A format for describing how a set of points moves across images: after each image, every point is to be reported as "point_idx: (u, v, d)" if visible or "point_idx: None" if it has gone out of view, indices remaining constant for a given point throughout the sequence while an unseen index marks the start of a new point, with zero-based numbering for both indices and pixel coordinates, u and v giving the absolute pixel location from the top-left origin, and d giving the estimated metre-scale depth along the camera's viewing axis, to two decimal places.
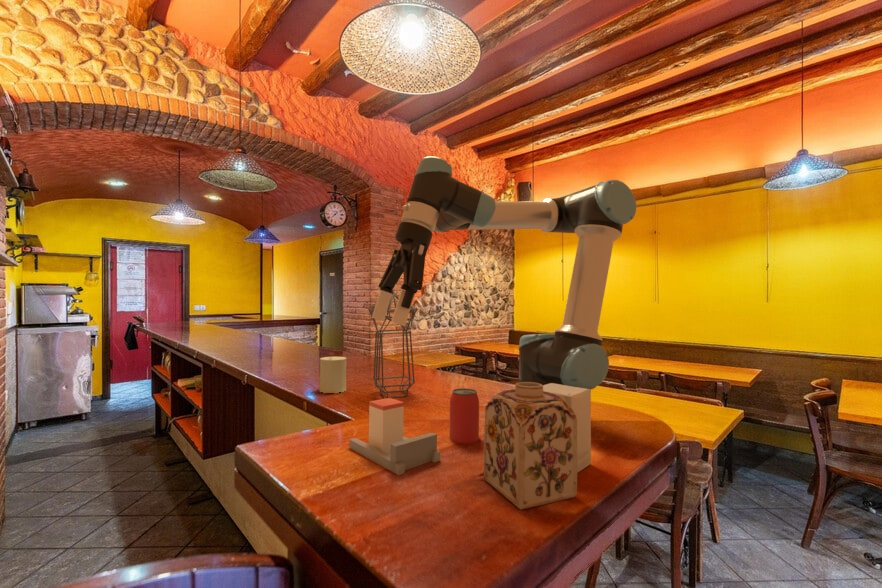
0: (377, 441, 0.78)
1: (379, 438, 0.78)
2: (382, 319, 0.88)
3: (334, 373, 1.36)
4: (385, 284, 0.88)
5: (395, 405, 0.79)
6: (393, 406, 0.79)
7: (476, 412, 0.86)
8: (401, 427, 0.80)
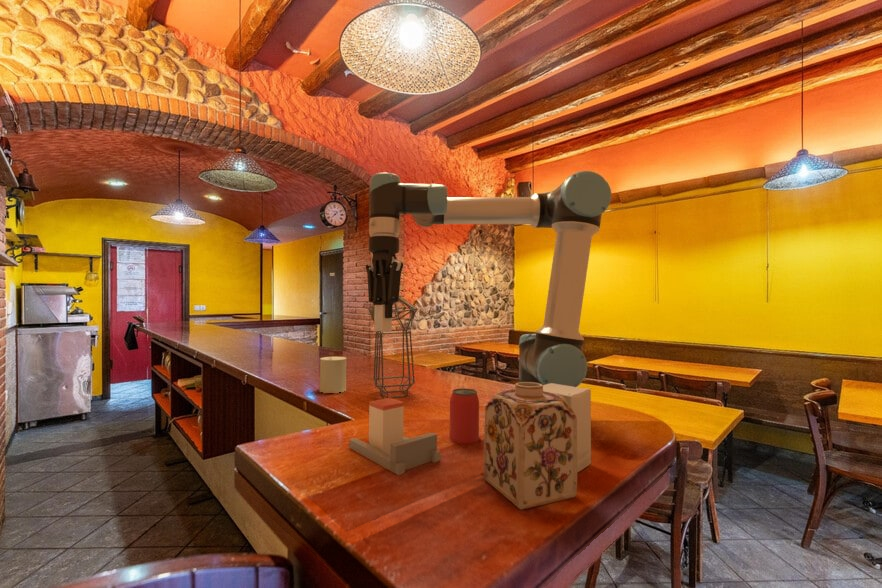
0: (377, 441, 0.78)
1: (379, 438, 0.78)
2: None
3: (334, 373, 1.36)
4: (376, 296, 0.99)
5: (395, 405, 0.79)
6: (393, 406, 0.79)
7: (476, 412, 0.86)
8: (401, 427, 0.80)
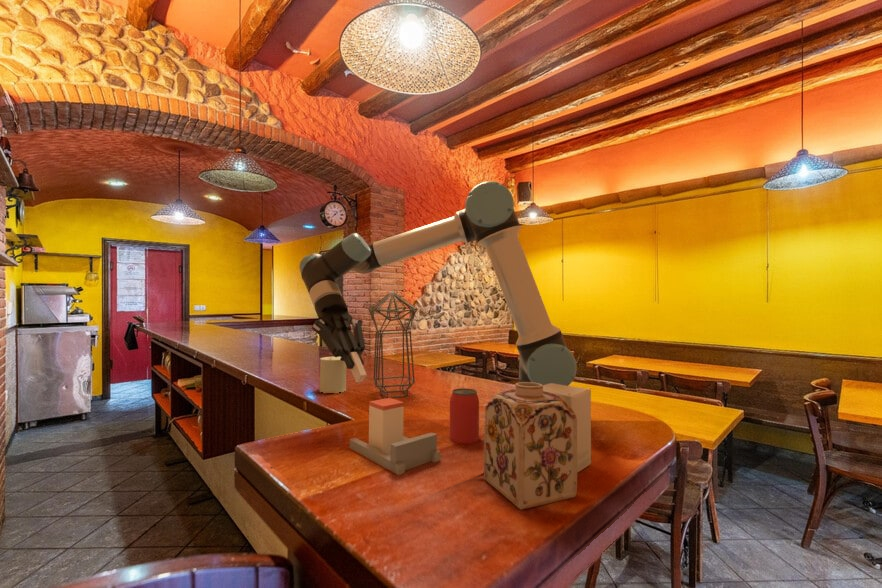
0: (377, 441, 0.78)
1: (379, 438, 0.78)
2: None
3: (334, 373, 1.36)
4: (349, 350, 0.93)
5: (395, 405, 0.79)
6: (393, 406, 0.79)
7: (476, 412, 0.86)
8: (401, 427, 0.80)
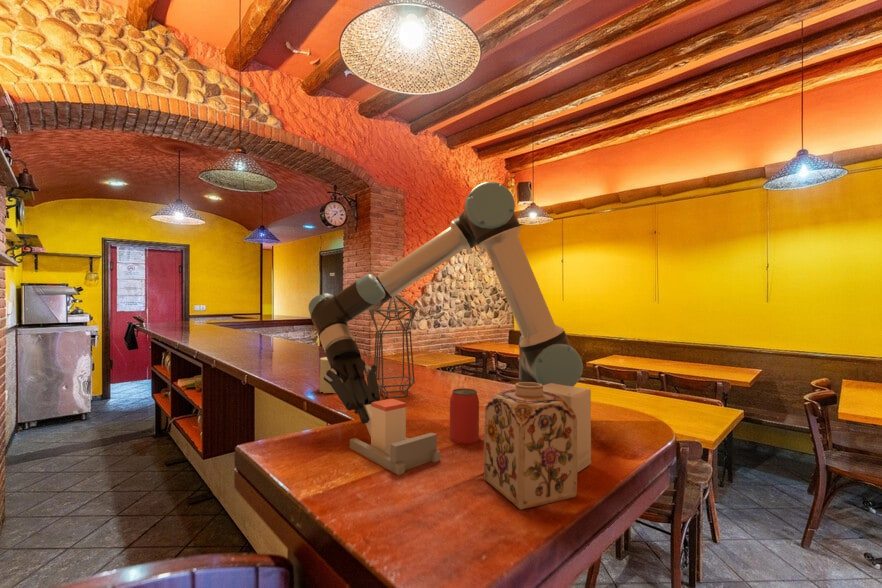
0: (380, 442, 0.77)
1: (381, 439, 0.77)
2: None
3: None
4: (363, 401, 0.88)
5: (398, 406, 0.78)
6: (396, 407, 0.78)
7: (476, 412, 0.86)
8: (404, 428, 0.79)
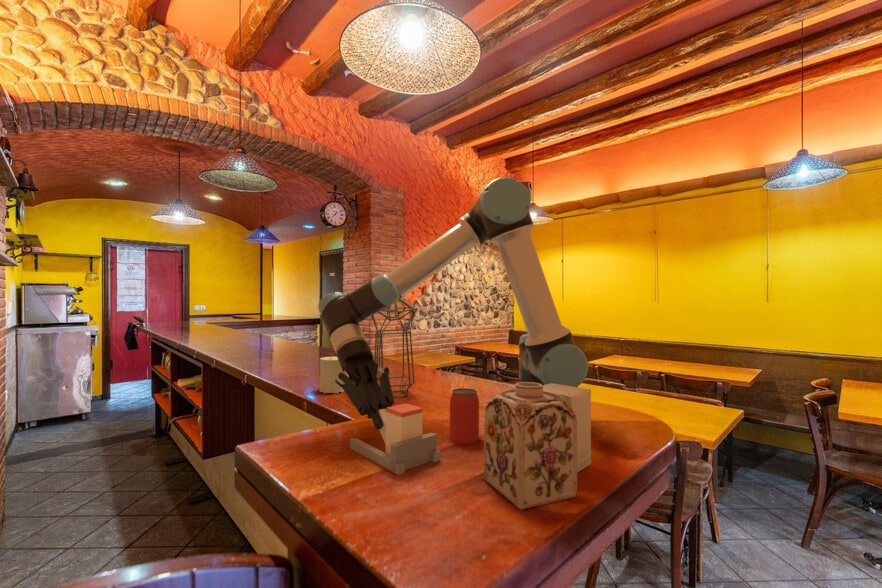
0: None
1: None
2: None
3: (334, 373, 1.36)
4: (376, 405, 0.84)
5: (414, 411, 0.74)
6: (412, 413, 0.74)
7: (476, 412, 0.86)
8: (420, 435, 0.75)
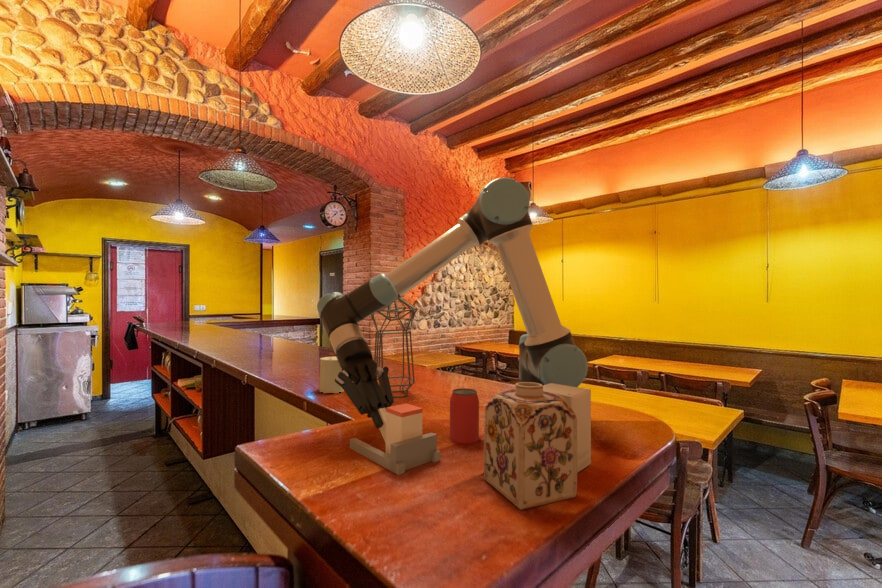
0: None
1: None
2: None
3: (334, 373, 1.36)
4: None
5: (414, 411, 0.74)
6: (412, 413, 0.74)
7: (476, 412, 0.86)
8: (420, 435, 0.75)
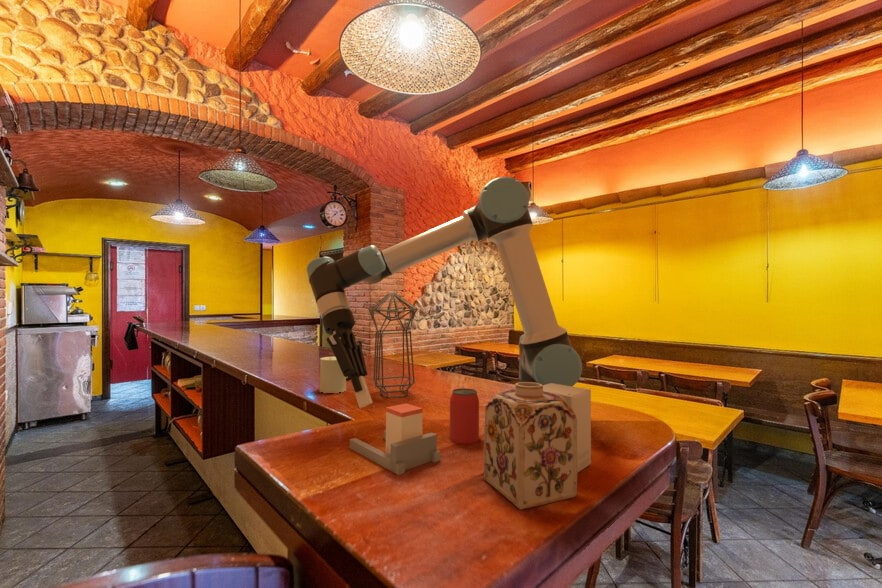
0: None
1: None
2: None
3: (334, 373, 1.36)
4: None
5: (414, 411, 0.74)
6: (412, 413, 0.74)
7: (476, 412, 0.86)
8: (420, 435, 0.75)
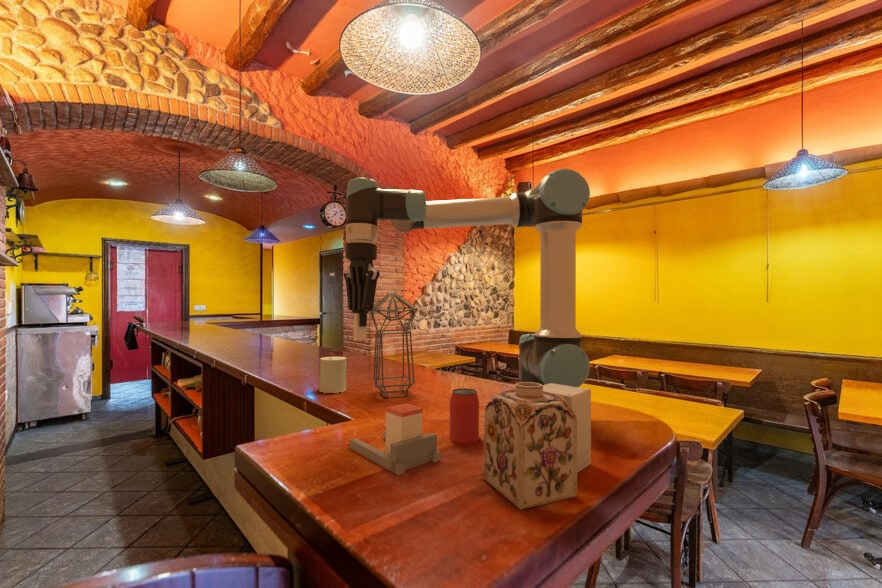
0: None
1: None
2: None
3: (334, 373, 1.36)
4: (355, 304, 0.96)
5: (414, 411, 0.74)
6: (412, 413, 0.74)
7: (476, 412, 0.86)
8: (420, 435, 0.75)
